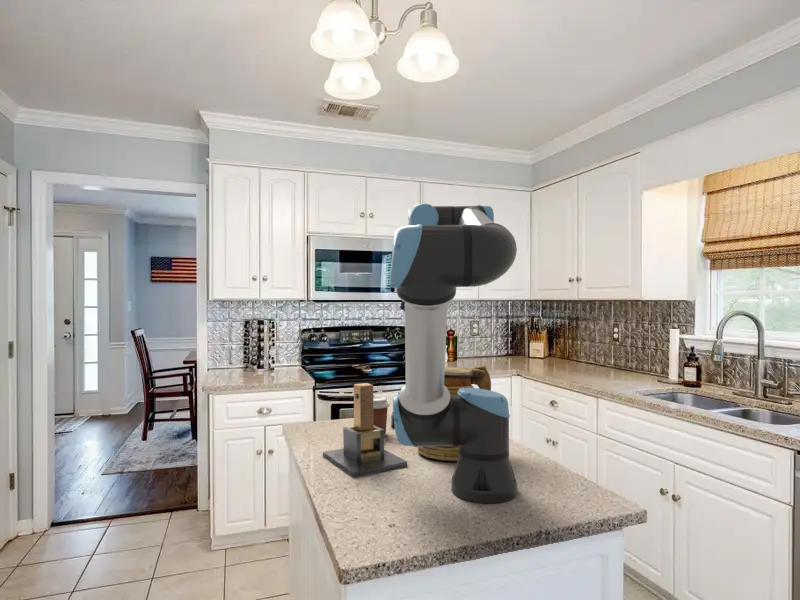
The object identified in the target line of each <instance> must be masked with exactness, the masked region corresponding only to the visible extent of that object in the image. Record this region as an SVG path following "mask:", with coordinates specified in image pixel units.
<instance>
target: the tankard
mask: <svg viewBox="0 0 800 600" xmlns="http://www.w3.org/2000/svg"><path fill="white" fill-rule="evenodd" d="M474 385H476V386H477V387H478V389H485V390H490V391H492V380H491V374H490V373H489V372H488V370H487V367H486V365H485V364H483V365H479V366H474V367H459V366H457V367H456V366H445V376H444V386H445V387H446V388H447V389H448V390H449V392H450V395H458V394H457V392H458V390H459V389H460V388H475V387H474ZM416 448H417V449H416V450H417V452H418V453H419V454H420V455H422V456H424V457H426V458H430V459H435V460H440V461H451V462H453V461H454V462H457V460H458V456H459V446H418V447H416Z"/></svg>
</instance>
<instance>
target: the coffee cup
mask: <svg viewBox="0 0 800 600" xmlns="http://www.w3.org/2000/svg"><path fill="white" fill-rule="evenodd" d="M390 406H391V405H390V402H389V401H388V400H387V398H386V397H385V396H373V425H375V426H377V427H379V428H381V429H384V435H385V436H386V435H387V423H388V422H387V421H388V409H389V407H390Z"/></svg>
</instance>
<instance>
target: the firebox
mask: <svg viewBox="0 0 800 600" xmlns="http://www.w3.org/2000/svg"><path fill="white" fill-rule="evenodd" d="M342 428H343V431H342V432H343V434H342V435H343V437H342V438H343V447H342V448H339V449H338V448H337V449H333V450H328V451H323V452H322V456H323V458H325V459H326V460H327V461H329V462H331V463H332V464H334V465H335V466H336V467H337V468H339V469H341V470H342V471H343V472H345V473H346V474H347V475H349V476H351V477H352V478H357V477H362V476H366V475H367V476H368V475H372V474H374V473H375V474H376V473H381V472H385V471H390V470H396V469H400V468H404V467H407V466H408V461H407V460H406V459H404V458H401V457H400V456H397V455H396V454H393V453H392V452H390V451H388V450H386V449H385V436H384V429H381V428H379V427H377V426H375V425H374V430H371V431H365V432H357V431H355V430H354V425H351V426H344V427H342ZM370 439H374V451H373V452H367V453H362V454H361V441H364V440H370Z"/></svg>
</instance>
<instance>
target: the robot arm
mask: <svg viewBox="0 0 800 600" xmlns="http://www.w3.org/2000/svg"><path fill="white" fill-rule="evenodd" d="M407 217H408V218H407V219H408V225H404V226H403V225H402V226H400V227H399V228H397V229H396V230H395V232H394V237H393V243H392V250H391V251H392V252H391V257H390V258H391V259H390V260H391V262H390V270H389V271H390V272H389V280H388V282H389V287H390V288H393V289H396V294H397V297H398V298H399V299H400V300H401V301H400V302H401V303H400V307H399V308H400V310H403V312H404V344H405V345H404V348H405V349H404V350H405V351H404V356H405V358H404V359H405V361H404V362H405V364H404V365H405V384H404V385H403V386H402V387H401V389H400V391H399V392H398V393H399V394H396V395H394V396H393V400H392V412H393V416H394V426H395V427H394V431H395V435H396V436H395V437H396V440H397V442H398V443H399V444H400V445H402V446H404V447H414V448H417V447H418V446H459V456H458V460H457V461H456V463H455V468H454V472H453V474H452V477H451V480H450V481H451V482H450V483H451V488H450V489H451V492H452V493H453V494H454V495H455V496H456V497H458V498H460V499H463V500H465V501H468V502H475V503H481V504H497V503H505V502H508V501H510V500H513V499H515V497H516V496H517V495H518V482H517V478H516V477H515V473H514V470H513V466H512V464H511V460H510V409H509V401H508V398H507V397H506V396H505V395H503V394H502V393H500V392H497V391H493V390H491V391H490V390H485V389H479V387H478V388H477V387H474V388H460V389H459V390H458V392H457V394H458V395H450V392H449V390H448V389H447V388H446V387H445V386H444V376H445V367H446V352H447V351H446V350H447V349H446V348H447V345H446V344H447V328H448V327H447V326H448V323H447V322H448V303H450V302H452V301H453V300H454V299H455V297H456V295H457V294H456V293H457V288H468V287H469V288H471V287H474V288H475V287H481V286H485V285H488V284H491V283H493V282H494V281H497V280H498V279H500V278H501V277H502V276H504V275H505V274H506V273H507V272H508V271H509V269H510V268H511V267H512V266H513V264H514V262H515V260H516V256H517V250H518V249H517V241H516V239H515V236H514V235H513V233H511V231H510V230H509V229H508V228H506V227H505V226H504V225H502V224H499V223H496V222H495V215H494V209H493V207H491V206H489V205H480V204H479V205H458V206H457V205H456V206H454V205H439V206H438V205H437V206H436V205H435V206H433V205H432V204H429V203H425V202H424V203H419V204H416V205H413V206H410V207H409V209H408V216H407Z"/></svg>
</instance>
